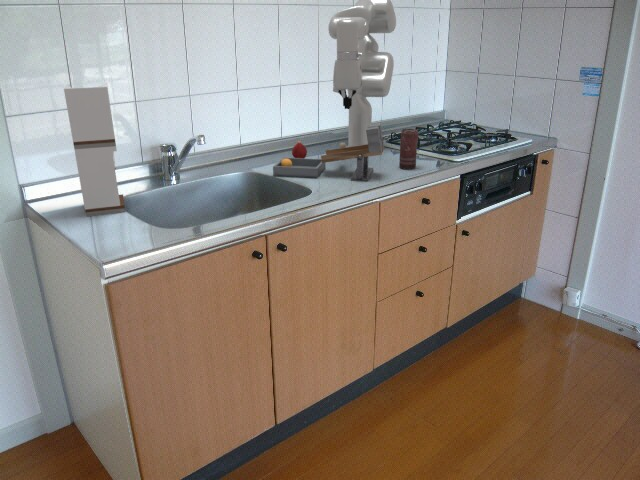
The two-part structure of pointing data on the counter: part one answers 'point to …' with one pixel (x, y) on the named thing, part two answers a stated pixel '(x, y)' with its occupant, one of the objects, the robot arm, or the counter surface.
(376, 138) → the chute
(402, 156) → the can
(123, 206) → the grey pillar
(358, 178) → the chute stand
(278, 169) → the tray
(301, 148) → the onion
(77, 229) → the counter surface
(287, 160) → the ball
